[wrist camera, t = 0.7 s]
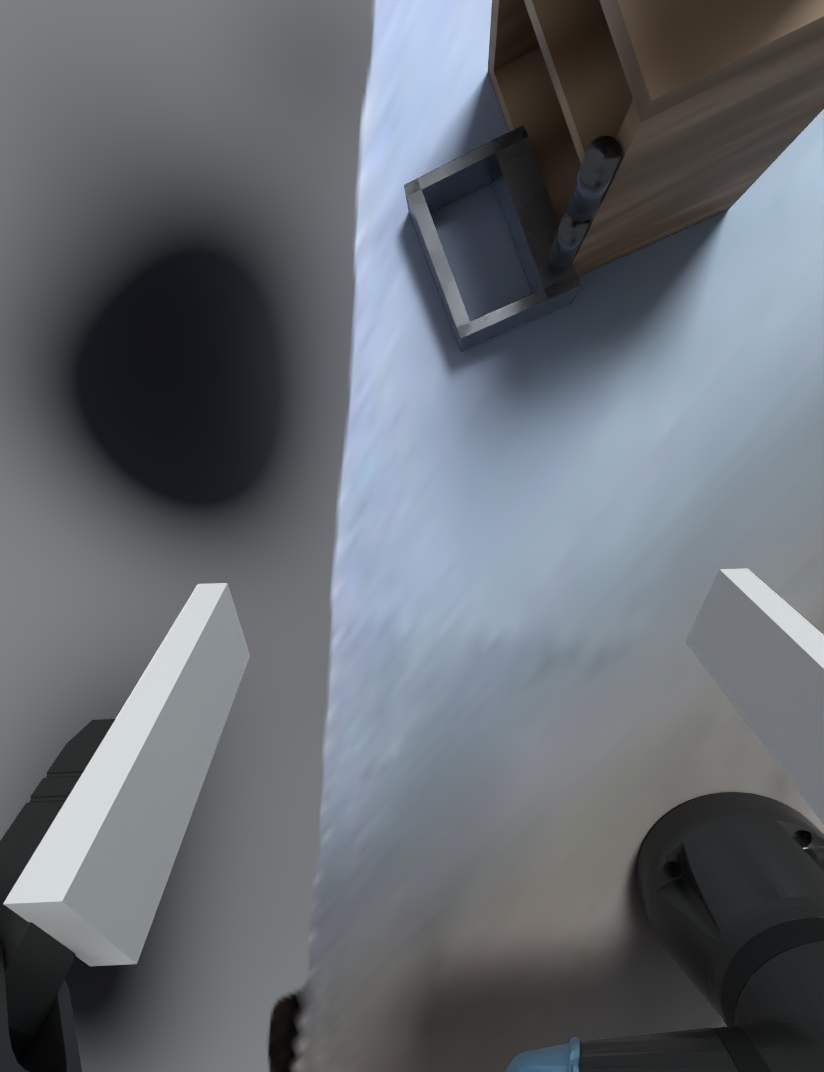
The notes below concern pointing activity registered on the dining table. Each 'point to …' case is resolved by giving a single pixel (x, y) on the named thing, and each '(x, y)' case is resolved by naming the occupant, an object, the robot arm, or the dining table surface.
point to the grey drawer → (513, 225)
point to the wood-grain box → (657, 102)
